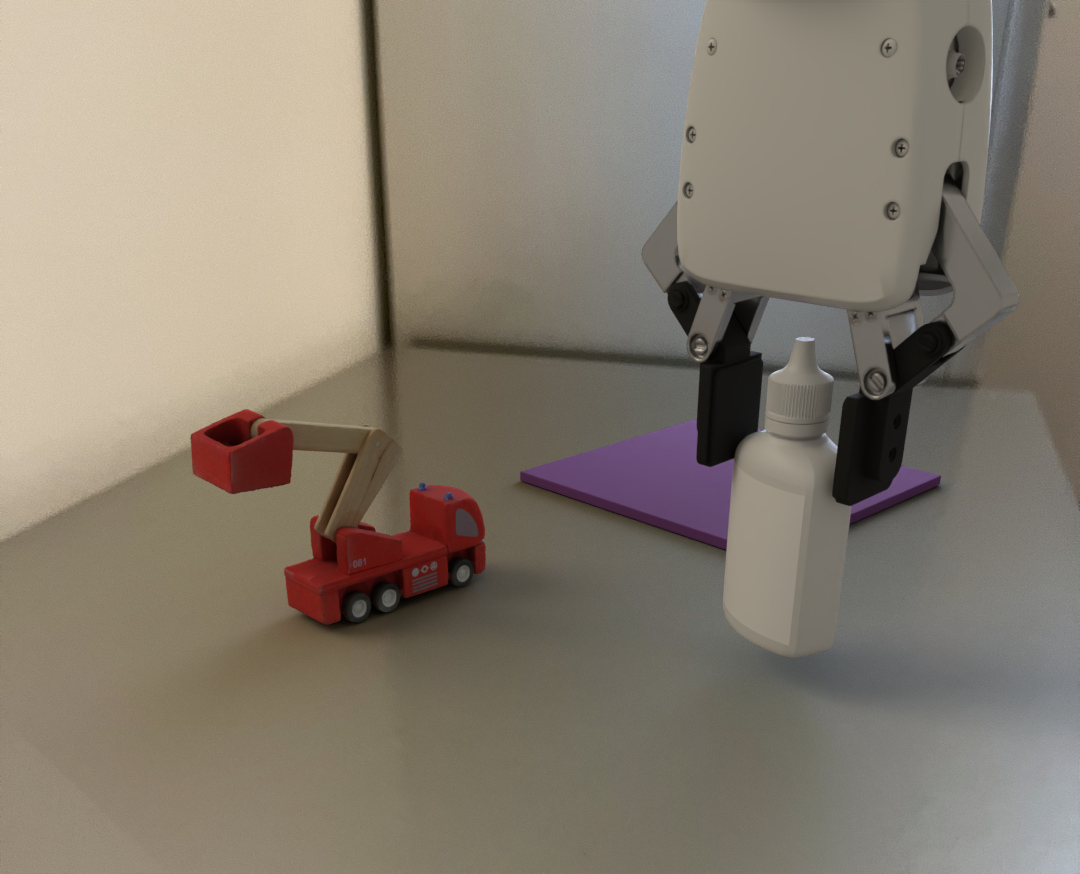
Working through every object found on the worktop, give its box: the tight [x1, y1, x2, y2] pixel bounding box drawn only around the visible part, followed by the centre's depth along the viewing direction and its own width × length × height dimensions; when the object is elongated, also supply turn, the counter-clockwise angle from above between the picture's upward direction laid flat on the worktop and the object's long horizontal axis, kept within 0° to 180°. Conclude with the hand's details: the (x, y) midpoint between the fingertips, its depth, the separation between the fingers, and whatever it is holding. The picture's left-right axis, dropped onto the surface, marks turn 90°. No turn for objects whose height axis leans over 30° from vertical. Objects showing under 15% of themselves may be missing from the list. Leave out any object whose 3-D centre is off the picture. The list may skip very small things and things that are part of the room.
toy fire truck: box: [190, 408, 487, 626], centre depth 54 cm, size 3×14×10 cm, turn 133°
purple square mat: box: [519, 418, 942, 551], centre depth 72 cm, size 18×18×1 cm
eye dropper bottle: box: [722, 336, 851, 659], centre depth 47 cm, size 4×6×12 cm
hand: (791, 471), depth 47 cm, fingers closed on eye dropper bottle, 5 cm apart
